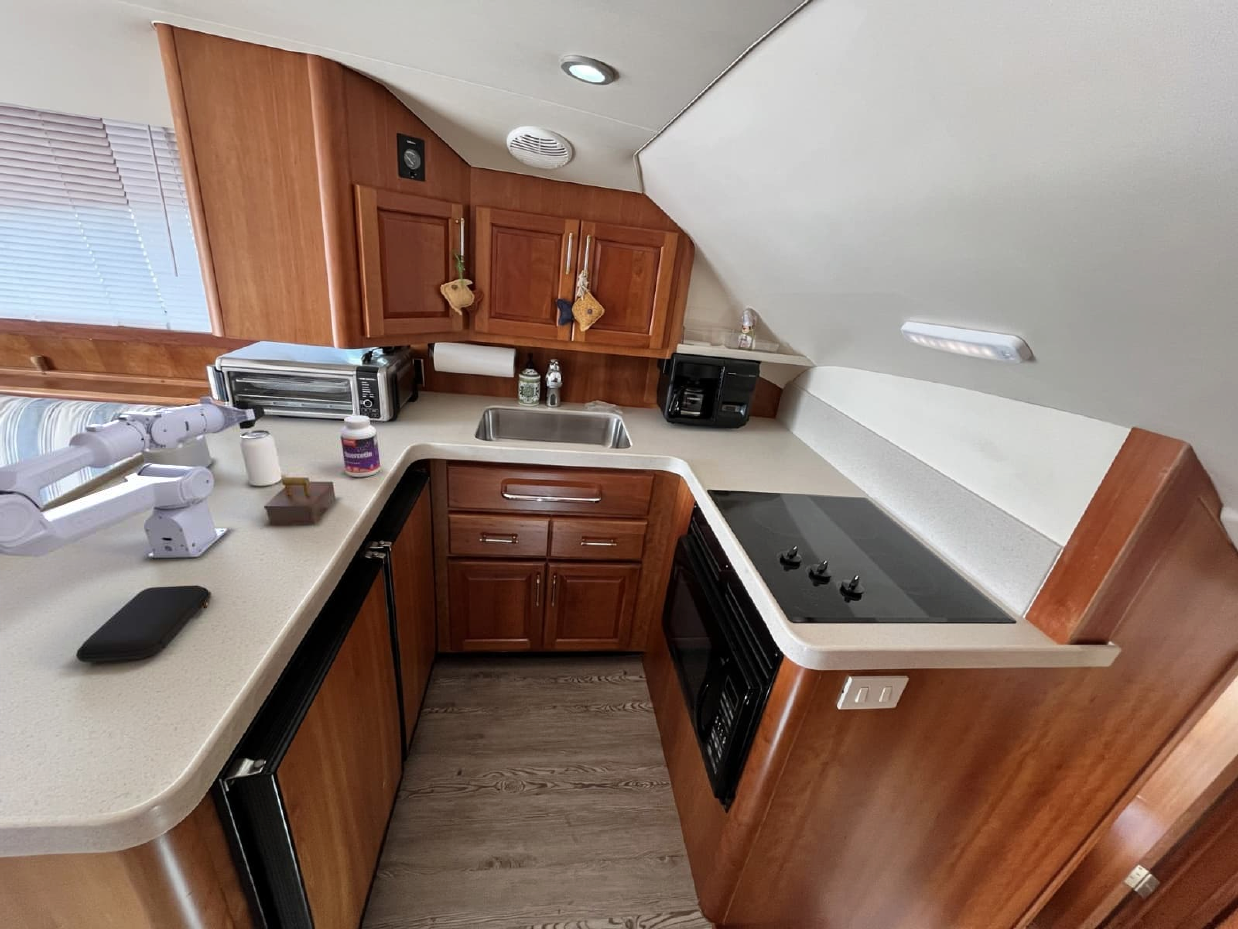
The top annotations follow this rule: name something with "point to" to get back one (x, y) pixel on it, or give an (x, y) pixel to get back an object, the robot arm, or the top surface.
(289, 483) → the lid
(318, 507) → the keepsake box
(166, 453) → the lumpy-topped squat cylinder
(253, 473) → the can
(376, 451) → the pill bottle
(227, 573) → the top surface
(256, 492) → the top surface
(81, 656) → the carrying case
